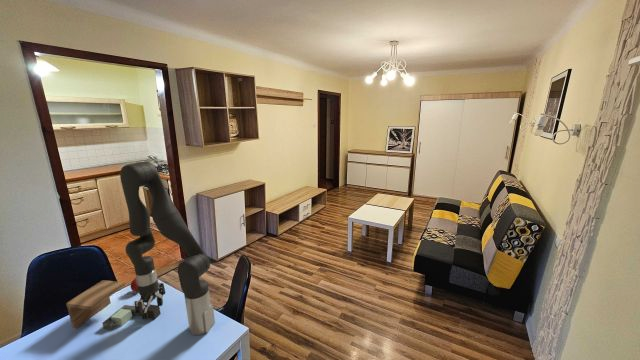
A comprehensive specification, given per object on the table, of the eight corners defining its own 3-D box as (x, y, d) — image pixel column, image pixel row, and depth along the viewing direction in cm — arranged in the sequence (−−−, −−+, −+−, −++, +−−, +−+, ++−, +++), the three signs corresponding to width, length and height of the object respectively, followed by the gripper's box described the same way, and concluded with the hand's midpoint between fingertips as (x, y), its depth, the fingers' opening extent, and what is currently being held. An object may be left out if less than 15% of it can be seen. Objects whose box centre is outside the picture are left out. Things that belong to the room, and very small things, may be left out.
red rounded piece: (132, 296, 132) (129, 282, 130) (131, 290, 136) (128, 277, 134) (146, 291, 136) (143, 277, 134) (144, 286, 140) (141, 272, 138)
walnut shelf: (129, 305, 126) (124, 282, 123) (96, 332, 110) (90, 306, 107) (108, 302, 128) (102, 280, 125) (73, 328, 112) (66, 303, 109)
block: (132, 317, 118) (130, 310, 117) (122, 326, 114) (120, 318, 113) (122, 316, 119) (121, 308, 118) (112, 324, 114) (110, 317, 114)
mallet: (160, 313, 120) (159, 305, 119) (139, 334, 109) (137, 325, 108) (127, 309, 123) (125, 301, 122) (103, 328, 112) (101, 320, 111)
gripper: (141, 291, 107) (148, 325, 111) (166, 271, 121) (171, 302, 125) (125, 289, 108) (132, 323, 112) (152, 270, 122) (157, 300, 126)
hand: (153, 311), depth 119 cm, fingers open, 8 cm apart
